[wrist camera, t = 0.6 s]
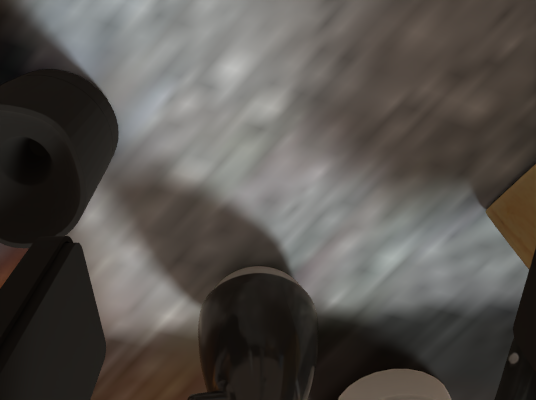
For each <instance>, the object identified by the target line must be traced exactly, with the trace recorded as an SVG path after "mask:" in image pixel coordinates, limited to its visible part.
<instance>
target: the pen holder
mask: <svg viewBox="0 0 536 400" xmlns="http://www.w3.org/2000/svg"><path fill="white" fill-rule="evenodd" d="M117 143H118V124H117V119H116V116H115V114H114V111H113V109H112V107H111V105H110V104H109V102H108V101H107V99H106V98H105V97H104V95H103V94H102V93H101V92H100V91H99V90H98V89H97V88H96V87H95V86H94V85H92V84H91V83H89V82H88V81H87V80H85V79H83V78H81V77H79V76H77V75H75V74H73V73H69V72H66V71H61V70H54V69H45V70H37V71H33V72H30V73H27V74H25V75H22V76H20V77H18V78H15V79H13V80H11V81H9V82H6V83H4V84H2V85H0V243H2V244H4V245H7V246H11V247H15V248H30V247H31V245H32V244H33V242H34V241H35V240H36V239H37V238H38V237H50V236H65V235H67V234H68V233H69V232H70V231H71V230H72V229H73V228H74V227H75V225H76V224H77V223H78V221H79V220H80V218H81V216H82V214H83V212H84V211H85V209H86V207H87V205H88V203H89V201H90V199H91V197H92V196H93V194H94V192H95V190H96V188H97V186H98V184H99V182H100V180H101V179H102V177H103V175H104V173H105V171H106V169H107V167H108V165H109V163H110V161H111V159H112V157H113V155H114V152H115V150H116V147H117Z"/></svg>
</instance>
